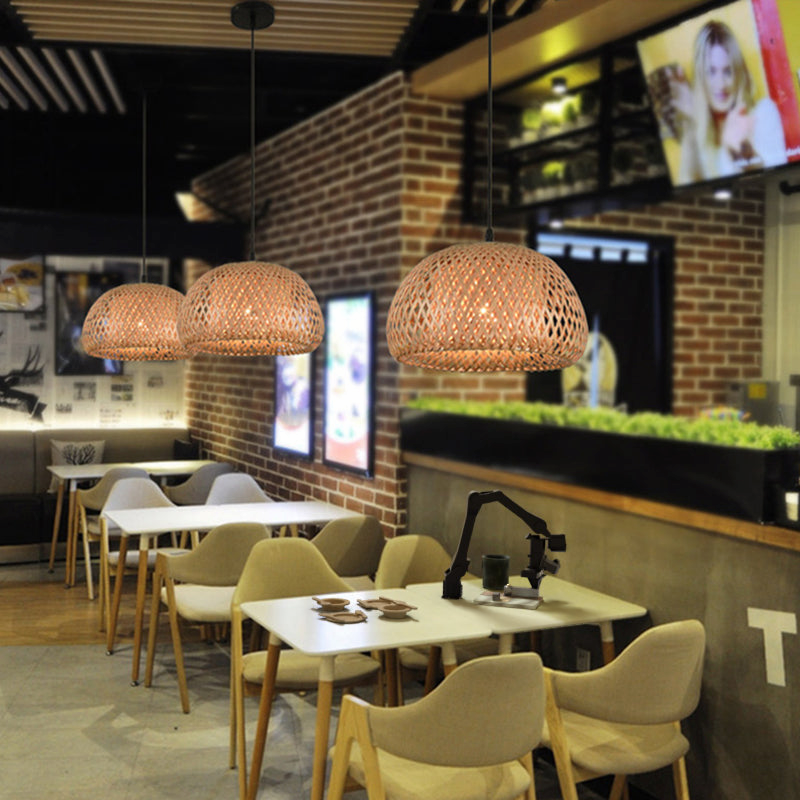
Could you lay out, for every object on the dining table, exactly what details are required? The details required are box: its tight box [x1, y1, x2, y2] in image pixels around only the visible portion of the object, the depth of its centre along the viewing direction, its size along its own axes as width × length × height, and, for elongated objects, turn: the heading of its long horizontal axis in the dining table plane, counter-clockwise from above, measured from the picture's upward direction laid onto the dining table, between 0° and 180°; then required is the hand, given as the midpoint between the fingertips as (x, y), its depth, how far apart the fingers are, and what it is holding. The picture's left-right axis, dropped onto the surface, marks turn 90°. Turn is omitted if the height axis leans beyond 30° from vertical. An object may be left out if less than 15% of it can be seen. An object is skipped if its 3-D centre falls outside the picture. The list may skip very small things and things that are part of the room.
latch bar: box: [503, 583, 540, 598], centre depth 376 cm, size 13×4×4 cm, turn 73°
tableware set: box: [311, 595, 418, 624], centre depth 349 cm, size 35×29×4 cm
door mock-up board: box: [473, 590, 544, 610], centre depth 372 cm, size 22×18×4 cm
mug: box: [481, 553, 511, 590], centre depth 399 cm, size 11×15×12 cm
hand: (535, 593), depth 378 cm, fingers closed
